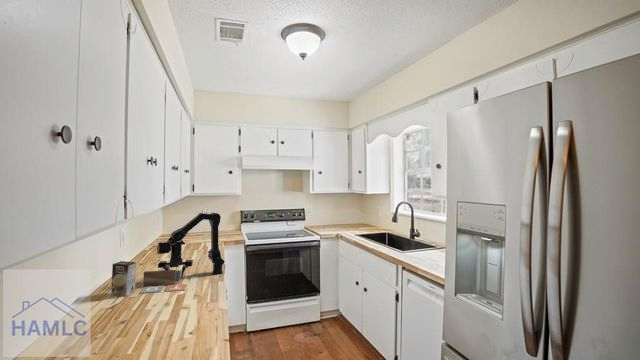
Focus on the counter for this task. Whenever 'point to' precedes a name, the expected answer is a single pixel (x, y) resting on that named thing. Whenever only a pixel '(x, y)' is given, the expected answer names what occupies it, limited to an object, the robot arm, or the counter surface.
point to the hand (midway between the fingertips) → (175, 278)
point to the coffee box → (123, 278)
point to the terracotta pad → (176, 287)
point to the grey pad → (151, 289)
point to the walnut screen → (159, 278)
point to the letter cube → (178, 275)
